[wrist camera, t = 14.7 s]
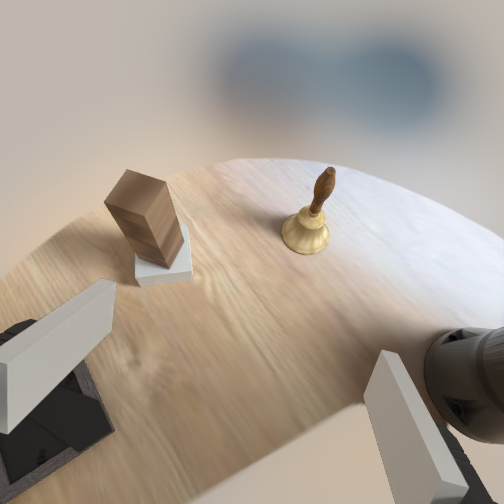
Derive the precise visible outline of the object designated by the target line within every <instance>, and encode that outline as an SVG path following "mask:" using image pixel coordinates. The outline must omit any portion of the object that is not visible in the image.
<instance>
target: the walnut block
mask: <svg viewBox="0 0 504 504" xmlns="http://www.w3.org/2000/svg"><path fill="white" fill-rule="evenodd" d="M104 203H105V205H106V206H107V208H108V210H109V211H110V213H111V214H112V216H113V218H114V219H115V221H116V222H117V224H118V226H119V227H120V229H121V231H122V232H123V234H124V235H125V237H126V239H127V240H128V242H129V243H130V245H131V247H132V248H133V250H134V251H135V253H136V255H137V256H138V258H139V259H142V260H145V261H148V262H150V263H153V264H156V265H159V266H161V267H164V268H167V269H170V268H171V266H172V264H173V262H174V260H175V258H176V256H177V254H178V253H179V251H180V249H181V247H182V245H183V243H184V238H183V235H182V232H181V228H180V225H179V222H178V219H177V216H176V213H175V209H174V206H173V203H172V200H171V197H170V193H169V190H168V187H167V184H166V182H165V181H162V180H159V179H155V178H152V177H150V176H146V175H143V174H140V173H137V172H134V171H131V170H128V169H127V170H126V172H125V173H124V174H123V176H122V177H121V178H120V180H119V181H118V183H117V184H116V186H115V187H114V188H113V190H112V191H111V193H110V194H109V195H108V197H107V198H106V200H105V201H104Z"/></svg>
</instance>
